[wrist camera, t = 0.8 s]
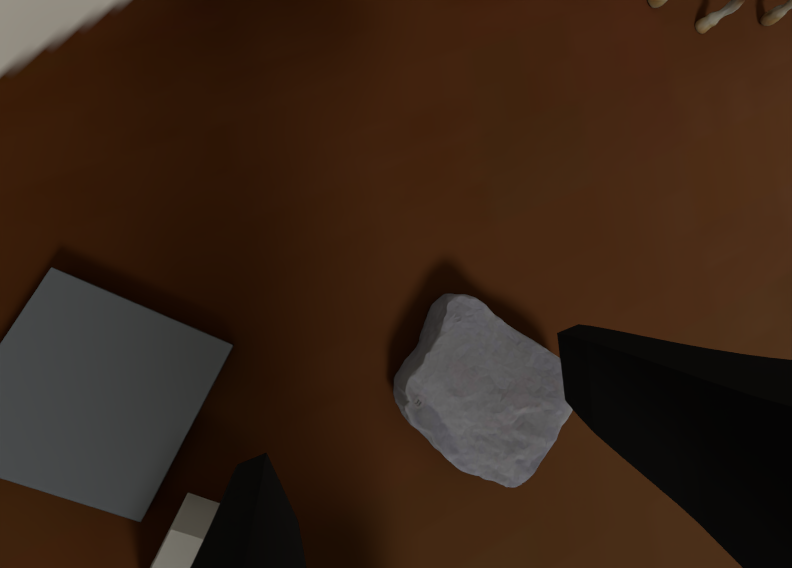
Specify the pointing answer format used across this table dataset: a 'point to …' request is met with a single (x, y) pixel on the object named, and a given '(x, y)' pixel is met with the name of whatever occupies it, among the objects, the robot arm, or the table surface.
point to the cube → (186, 533)
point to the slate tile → (99, 394)
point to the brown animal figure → (713, 18)
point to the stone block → (482, 391)
